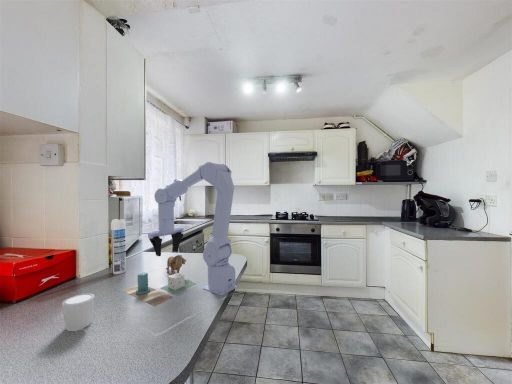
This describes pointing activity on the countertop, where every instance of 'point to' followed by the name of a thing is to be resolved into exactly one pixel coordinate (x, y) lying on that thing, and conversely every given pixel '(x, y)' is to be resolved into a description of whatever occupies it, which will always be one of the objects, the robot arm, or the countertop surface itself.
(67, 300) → the white cylinder
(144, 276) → the pawn
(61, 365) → the countertop surface
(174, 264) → the lion figurine
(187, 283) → the felt pad
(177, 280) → the die
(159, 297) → the track
